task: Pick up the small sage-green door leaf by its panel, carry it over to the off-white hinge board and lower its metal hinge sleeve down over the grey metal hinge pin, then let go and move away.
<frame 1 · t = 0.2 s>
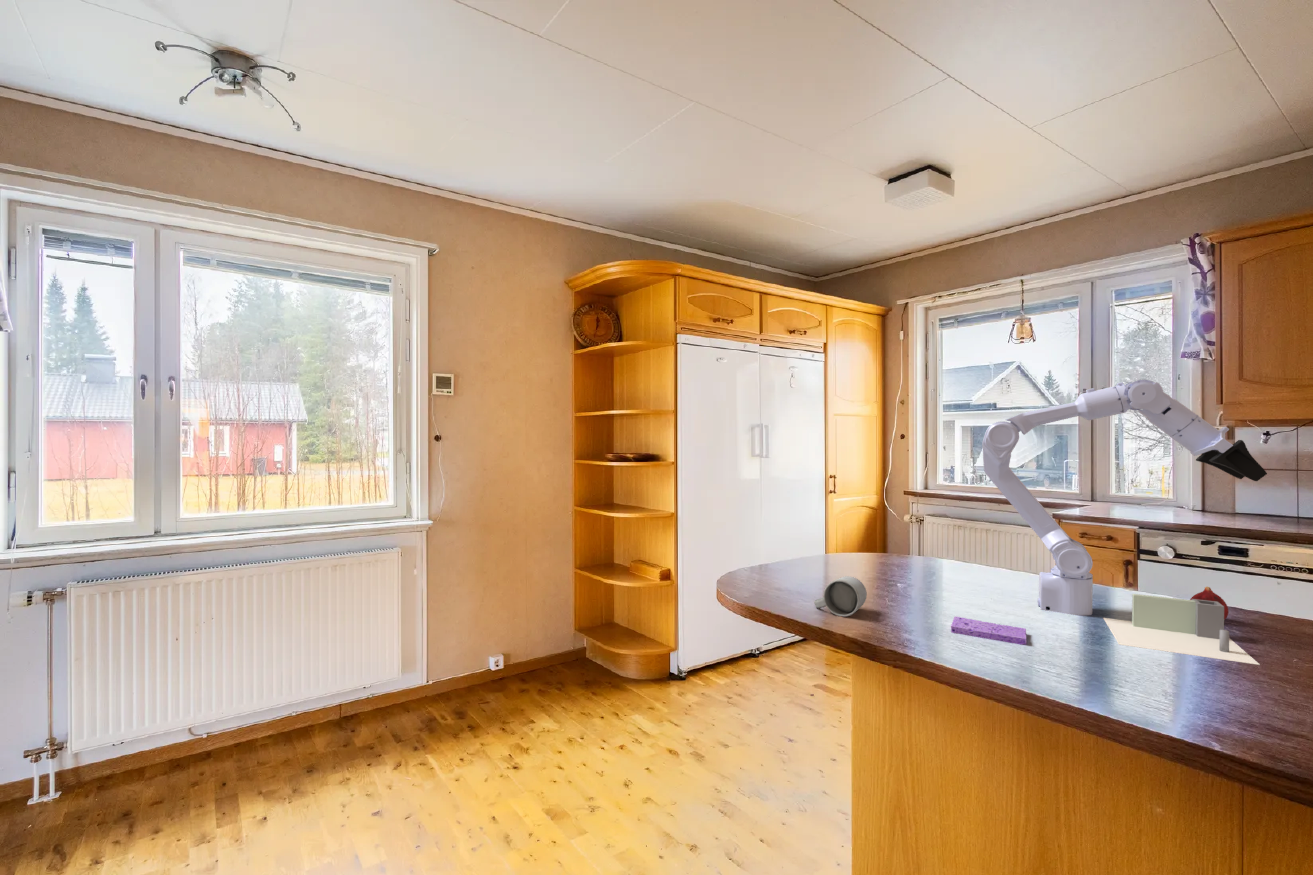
hand: (1253, 476, 108), 31 cm above the table, tool tilted 45°, fingers open, 7 cm apart
sponges: (988, 637, 113), on the table
onion: (1207, 628, 117), on the table
hinge board: (1172, 646, 106), on the table
ceramic mug: (839, 612, 127), on the table
door leaf: (1207, 635, 108), point 1 cm above the table, touching hinge board
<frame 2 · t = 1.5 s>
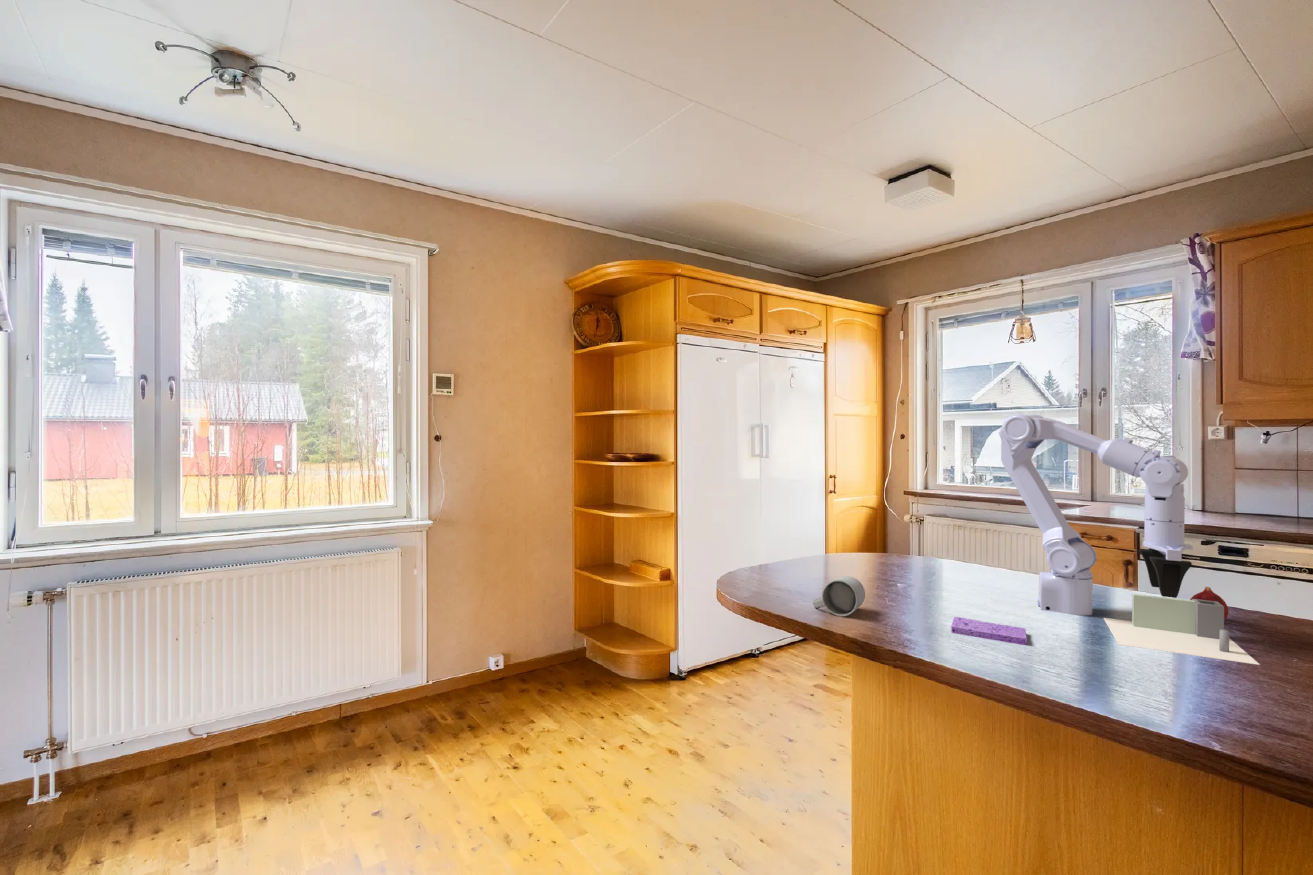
hand: (1163, 591, 111), 9 cm above the table, tool pointing down, fingers open, 7 cm apart
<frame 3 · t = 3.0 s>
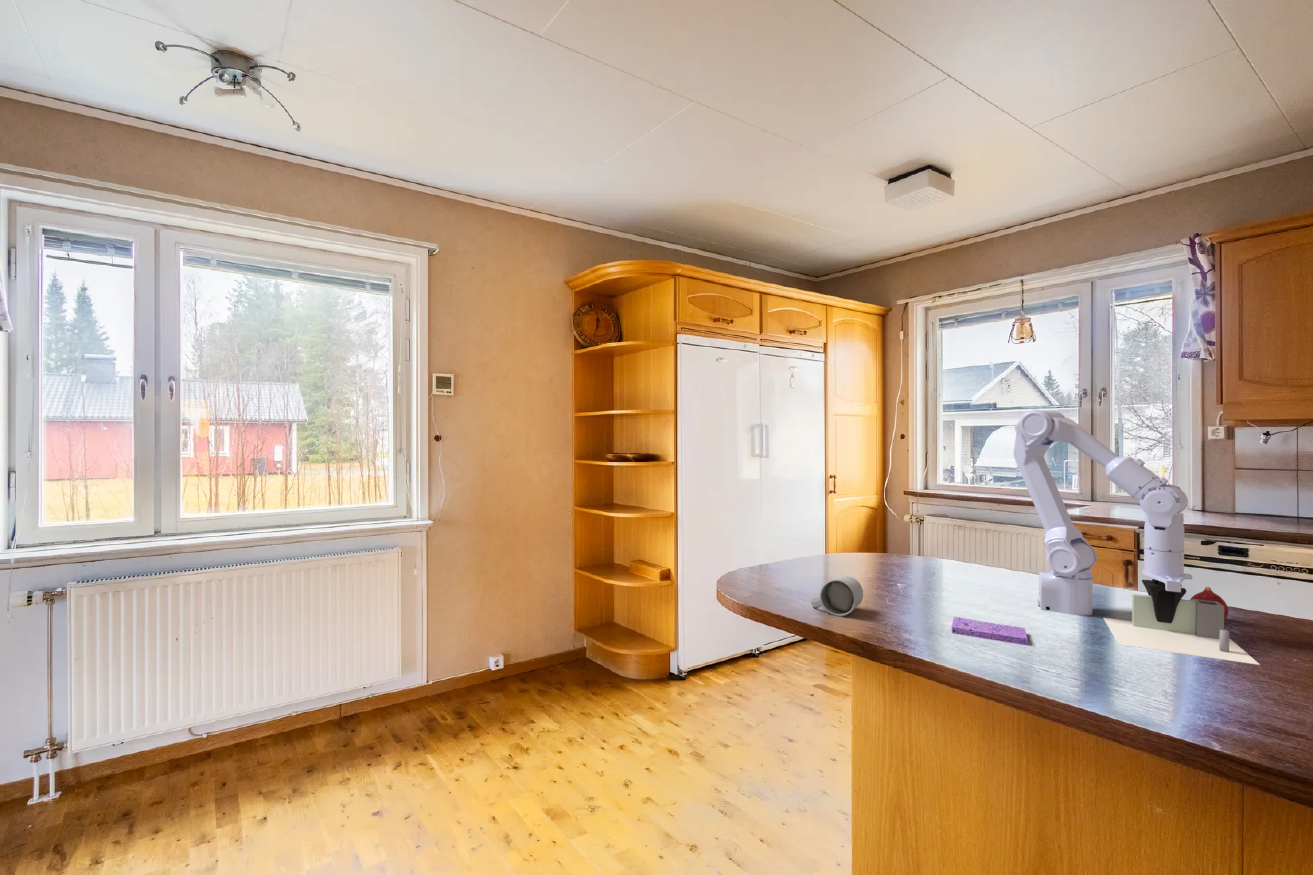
hand: (1163, 620, 111), 3 cm above the table, tool pointing down, fingers closed on door leaf
door leaf: (1207, 635, 108), point 1 cm above the table, touching gripper, hinge board
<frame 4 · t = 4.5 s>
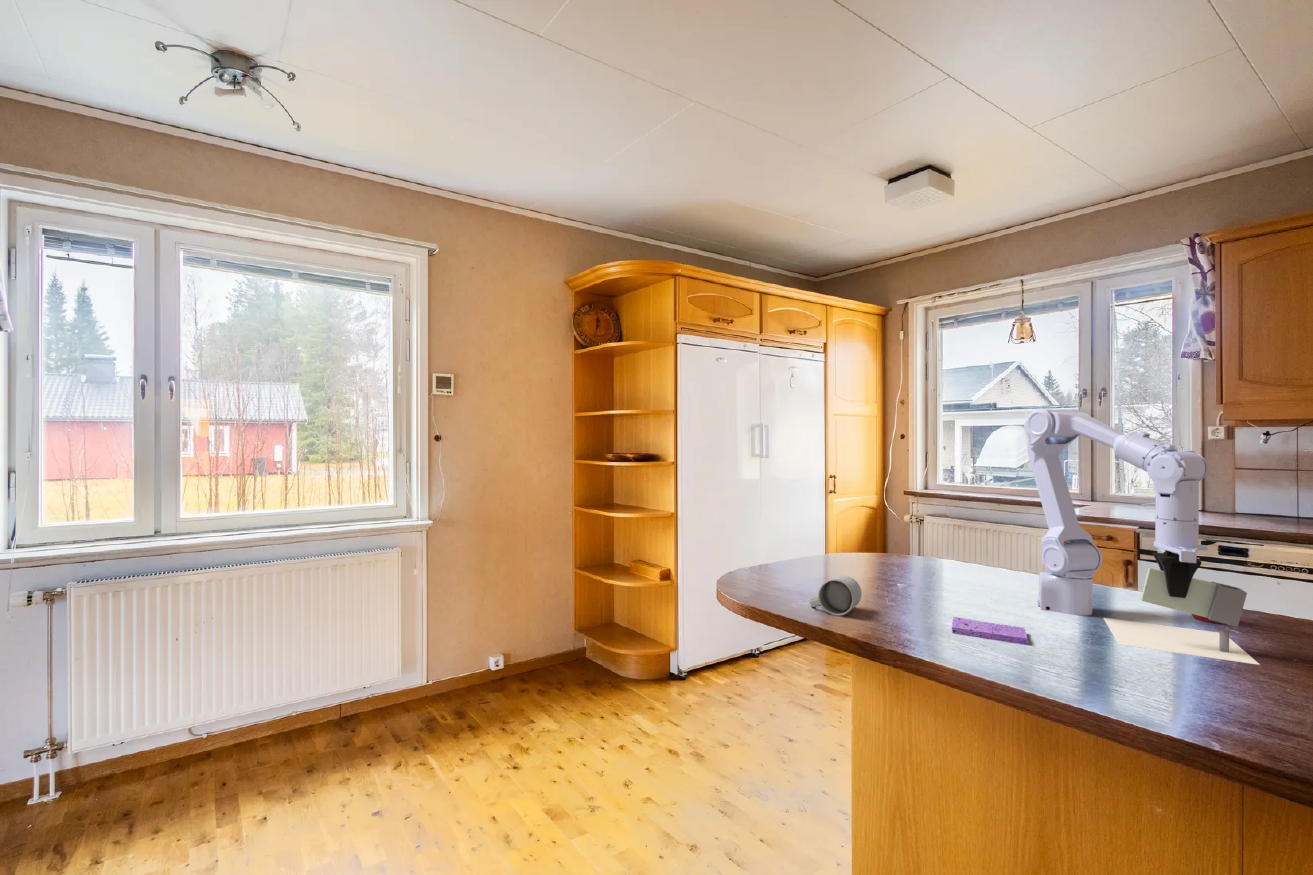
hand: (1175, 595, 103), 10 cm above the table, tool pointing down, fingers closed on door leaf
door leaf: (1219, 620, 101), point 7 cm above the table, tilted 11°, touching gripper
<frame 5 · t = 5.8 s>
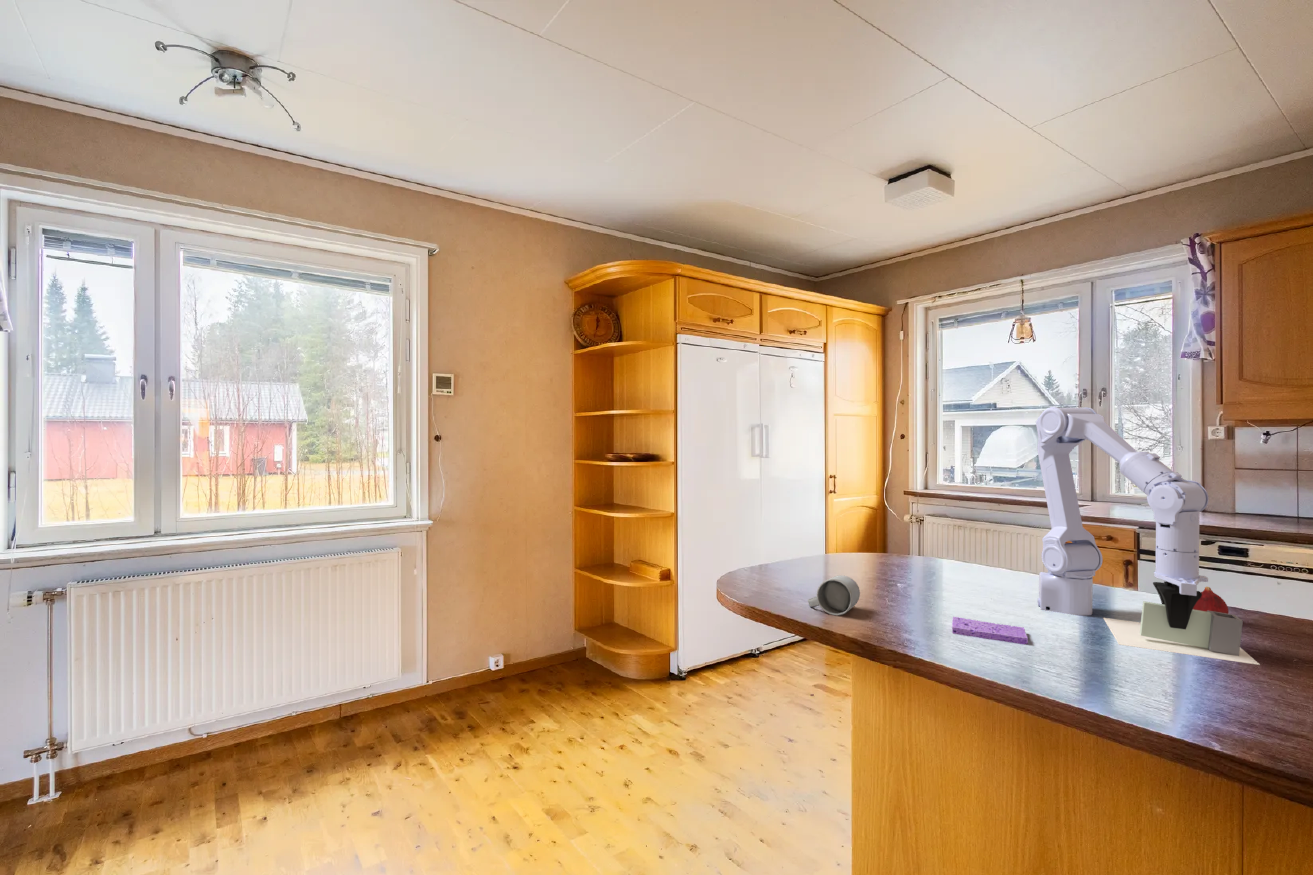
hand: (1176, 626, 103), 5 cm above the table, tool pointing down, fingers closed on door leaf
door leaf: (1220, 649, 100), point 2 cm above the table, touching gripper, hinge board
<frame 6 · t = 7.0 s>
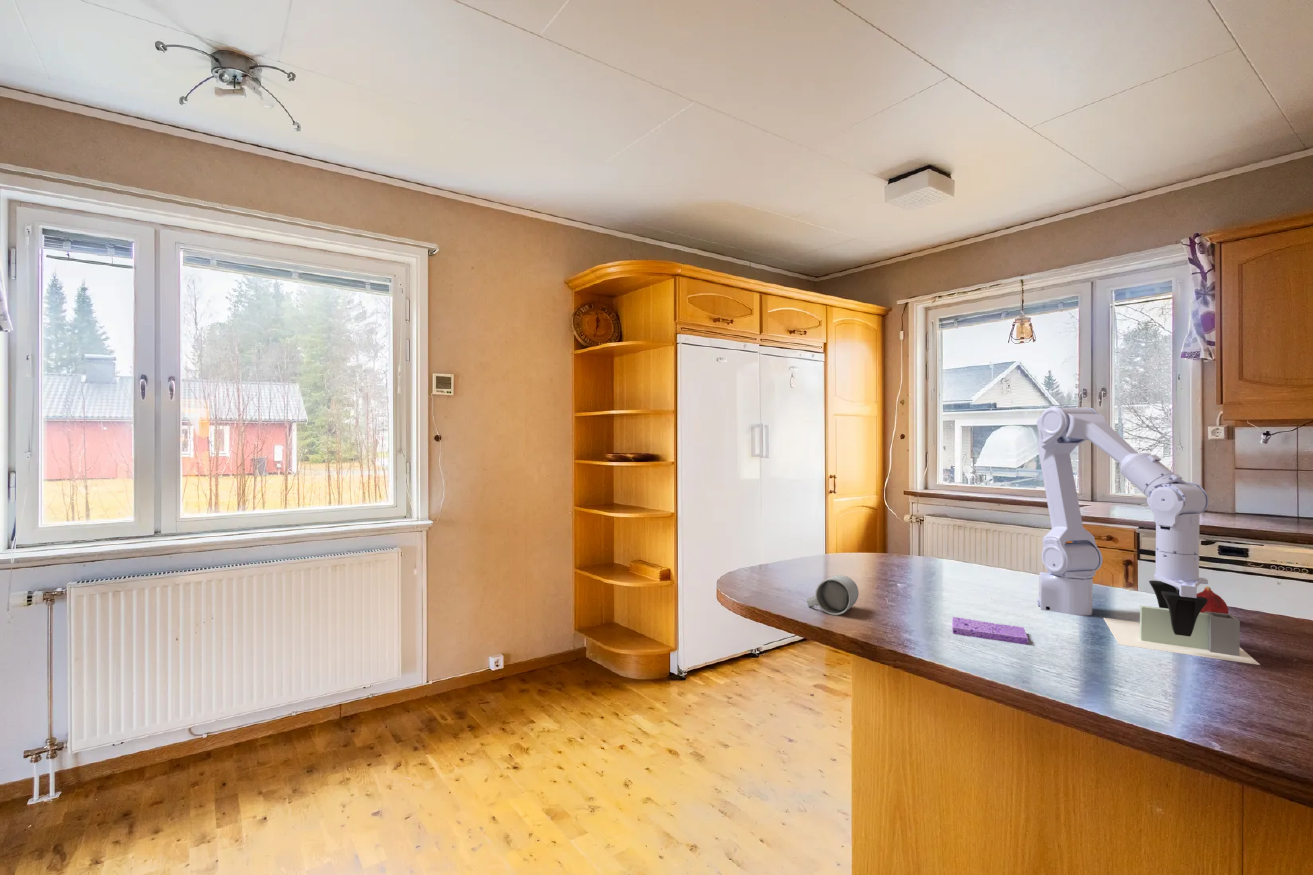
hand: (1176, 628, 103), 4 cm above the table, tool pointing down, fingers open, 7 cm apart
door leaf: (1221, 650, 100), point 1 cm above the table, touching hinge board
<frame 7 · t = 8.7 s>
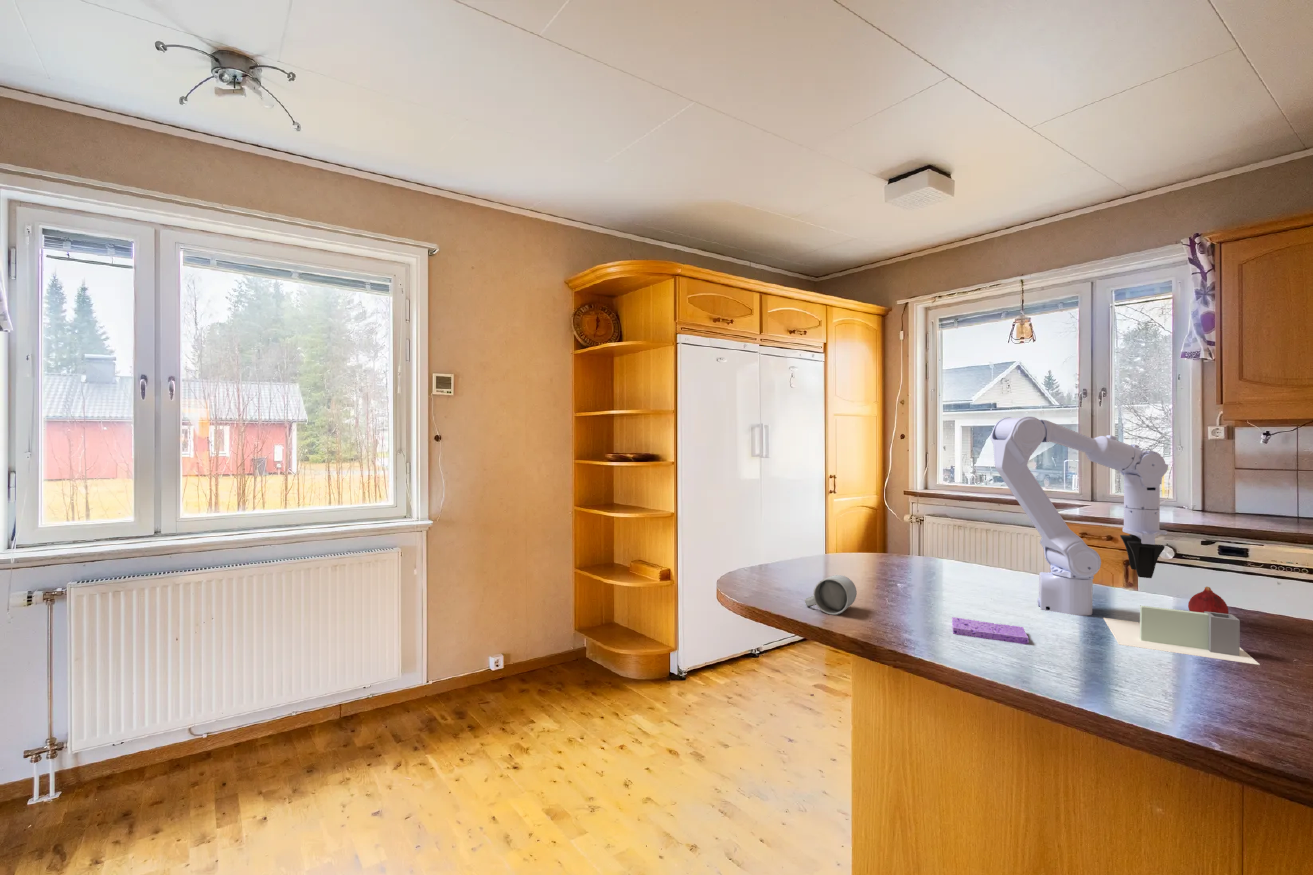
hand: (1141, 573, 121), 10 cm above the table, tool pointing down, fingers open, 7 cm apart
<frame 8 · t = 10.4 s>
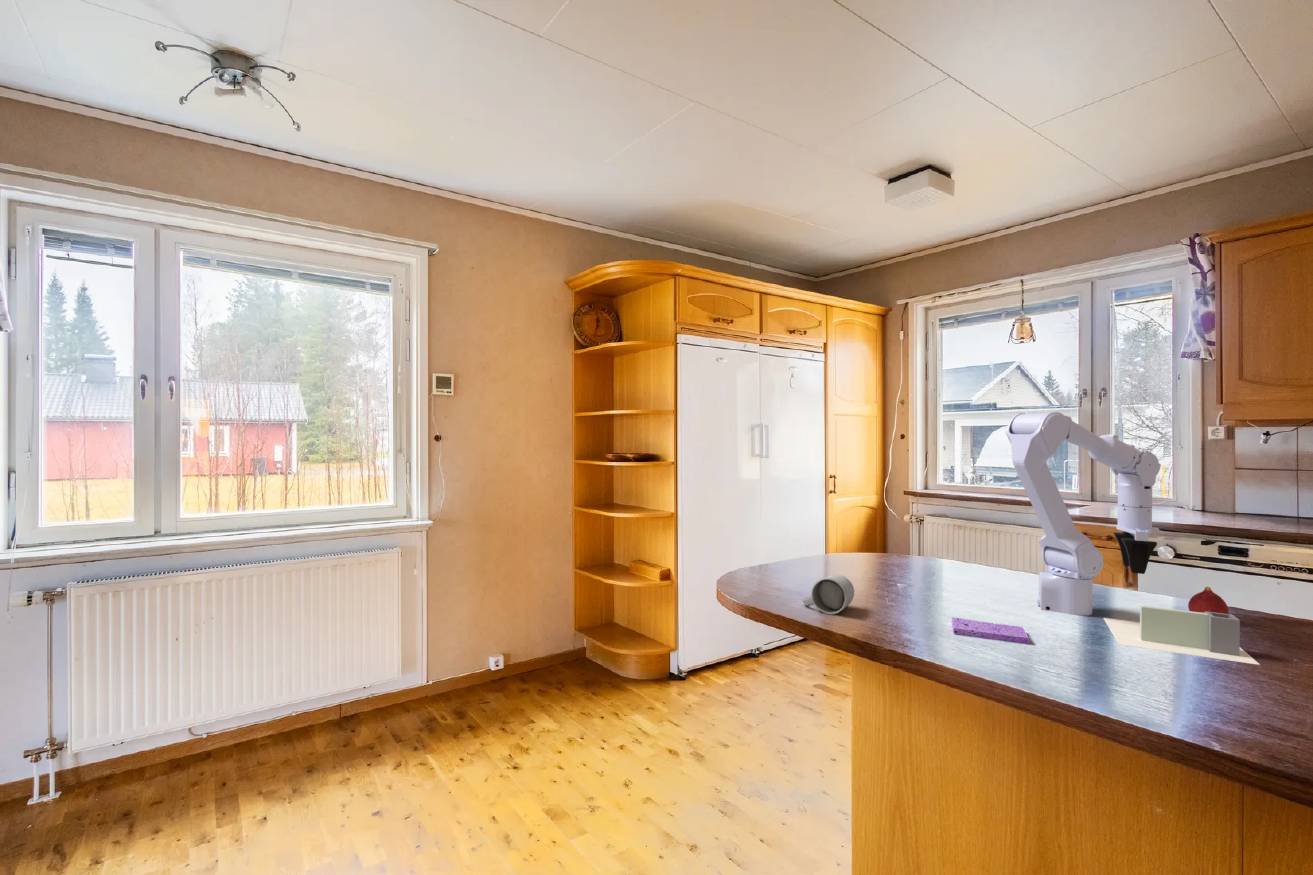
hand: (1133, 569, 125), 9 cm above the table, tool pointing down, fingers open, 7 cm apart
at the end: door leaf 0.4 cm from the target spot, point 1.5 cm above the table; door leaf tilted 0°; the gripper is holding nothing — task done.
